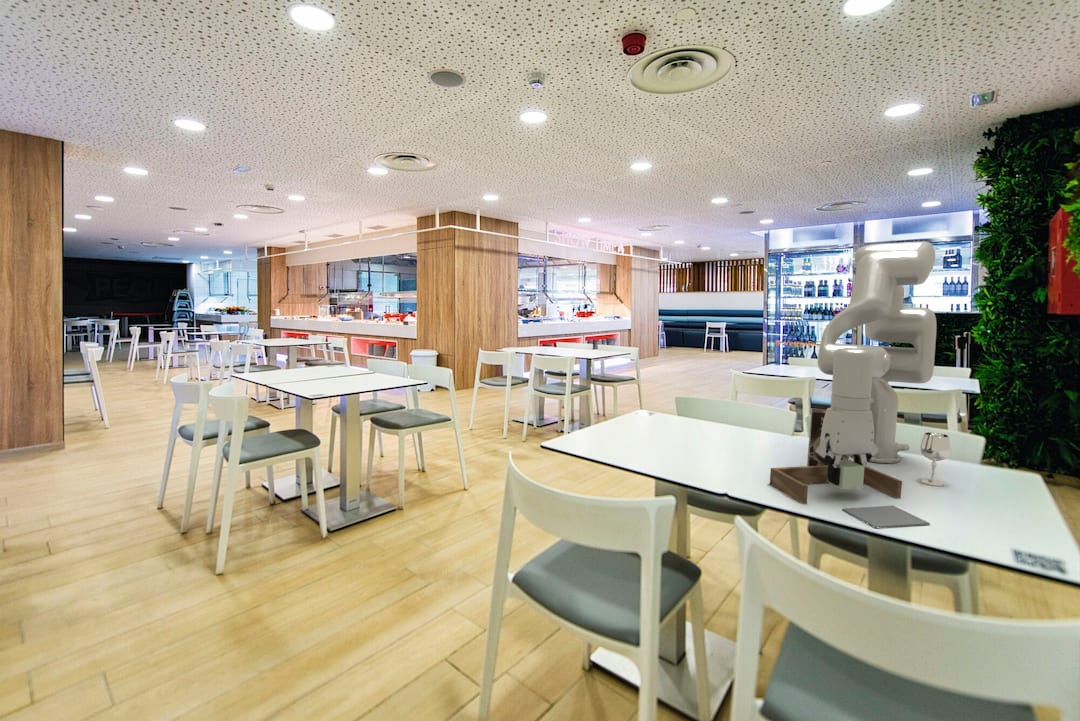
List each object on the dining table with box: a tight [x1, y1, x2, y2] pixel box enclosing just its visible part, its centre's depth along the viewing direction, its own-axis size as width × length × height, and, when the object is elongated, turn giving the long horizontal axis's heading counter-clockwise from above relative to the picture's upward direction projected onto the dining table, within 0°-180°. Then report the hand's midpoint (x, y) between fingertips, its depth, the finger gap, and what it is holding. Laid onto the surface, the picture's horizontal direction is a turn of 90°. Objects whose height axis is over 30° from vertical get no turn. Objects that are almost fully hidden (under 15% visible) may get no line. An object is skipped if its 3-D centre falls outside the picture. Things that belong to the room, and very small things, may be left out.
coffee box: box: [806, 407, 850, 466], centre depth 134 cm, size 9×6×16 cm
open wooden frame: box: [769, 465, 903, 504], centre depth 121 cm, size 24×12×4 cm, turn 98°
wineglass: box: [920, 431, 952, 487], centre depth 126 cm, size 6×6×12 cm
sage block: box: [827, 459, 864, 490], centre depth 117 cm, size 5×5×5 cm
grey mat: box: [841, 505, 931, 529], centre depth 106 cm, size 12×9×1 cm
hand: (844, 481), depth 117 cm, fingers closed on sage block, 5 cm apart
